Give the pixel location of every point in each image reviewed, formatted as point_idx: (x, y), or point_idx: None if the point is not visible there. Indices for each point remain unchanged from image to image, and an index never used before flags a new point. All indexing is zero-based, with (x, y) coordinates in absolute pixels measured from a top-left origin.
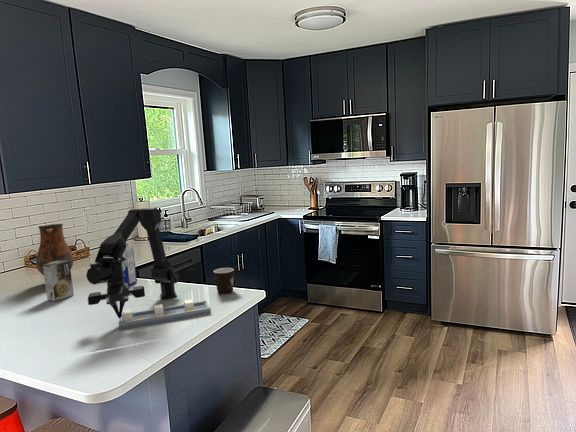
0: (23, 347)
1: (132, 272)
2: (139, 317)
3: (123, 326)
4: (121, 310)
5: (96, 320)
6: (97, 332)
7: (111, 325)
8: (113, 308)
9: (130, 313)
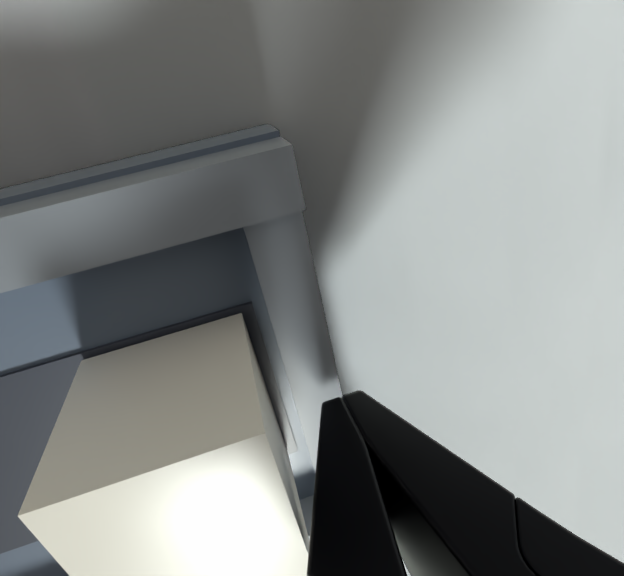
0: None
1: None
2: (24, 489)
3: (199, 145)
4: (334, 542)
5: (578, 469)
6: (592, 101)
7: (428, 331)
8: (613, 560)
9: (71, 478)
